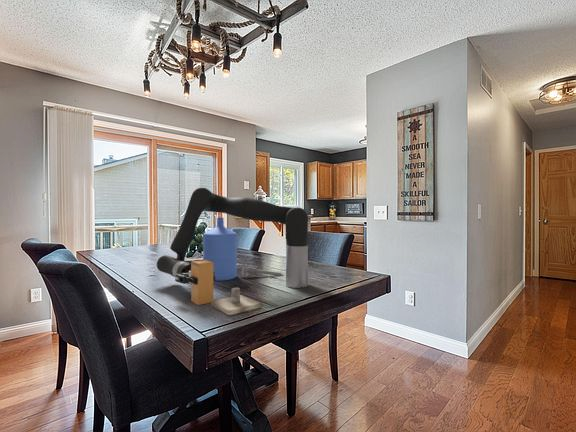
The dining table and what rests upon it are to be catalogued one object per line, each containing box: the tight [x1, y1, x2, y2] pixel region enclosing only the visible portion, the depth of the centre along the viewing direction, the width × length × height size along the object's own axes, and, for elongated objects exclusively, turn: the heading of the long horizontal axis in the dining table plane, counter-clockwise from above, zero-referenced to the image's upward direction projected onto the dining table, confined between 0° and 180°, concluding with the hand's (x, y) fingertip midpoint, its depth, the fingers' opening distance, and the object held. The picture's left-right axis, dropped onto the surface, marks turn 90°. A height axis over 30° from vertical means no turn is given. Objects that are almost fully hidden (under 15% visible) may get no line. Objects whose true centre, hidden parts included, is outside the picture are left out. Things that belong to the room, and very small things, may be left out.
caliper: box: [241, 264, 284, 278], centre depth 148 cm, size 20×1×6 cm, turn 106°
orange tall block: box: [190, 259, 214, 306], centre depth 108 cm, size 6×6×14 cm
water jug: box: [202, 217, 238, 282], centre depth 144 cm, size 16×16×28 cm
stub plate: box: [210, 287, 262, 316], centre depth 103 cm, size 12×12×6 cm
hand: (205, 280), depth 106 cm, fingers closed on orange tall block, 5 cm apart
